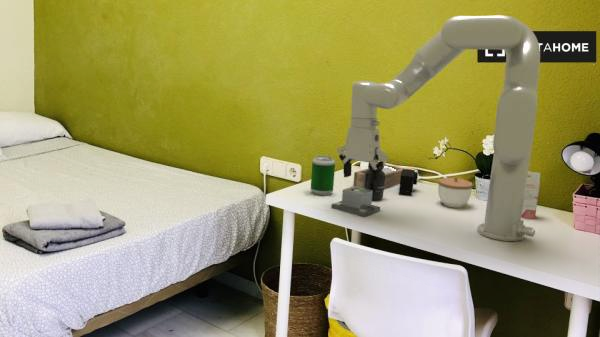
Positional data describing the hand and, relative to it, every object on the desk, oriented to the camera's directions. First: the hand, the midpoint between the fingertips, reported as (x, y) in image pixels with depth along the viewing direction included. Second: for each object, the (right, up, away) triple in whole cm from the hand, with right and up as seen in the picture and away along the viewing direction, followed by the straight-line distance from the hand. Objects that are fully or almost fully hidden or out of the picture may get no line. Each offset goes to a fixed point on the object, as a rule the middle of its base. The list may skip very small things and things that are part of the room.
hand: (360, 179), depth 183 cm
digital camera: (+19, -5, +26) cm, 33 cm away
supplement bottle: (+6, -7, +16) cm, 18 cm away
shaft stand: (-1, -9, +3) cm, 10 cm away
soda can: (-11, -5, +19) cm, 22 cm away
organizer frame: (+10, -2, +35) cm, 36 cm away
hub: (-1, -8, +2) cm, 9 cm away
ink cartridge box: (+51, -12, +7) cm, 53 cm away
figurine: (+12, -3, +36) cm, 38 cm away
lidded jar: (+31, -9, +14) cm, 35 cm away
